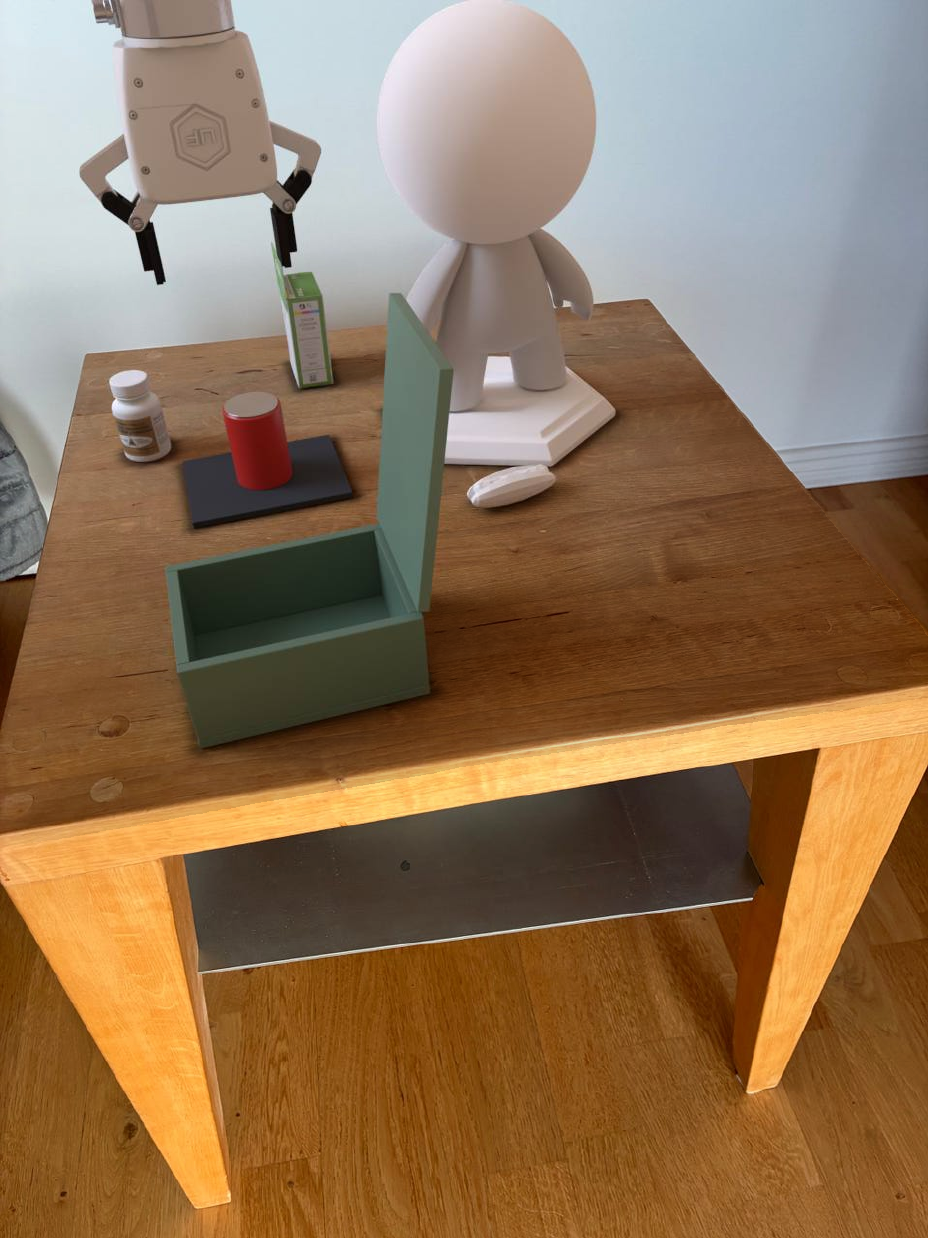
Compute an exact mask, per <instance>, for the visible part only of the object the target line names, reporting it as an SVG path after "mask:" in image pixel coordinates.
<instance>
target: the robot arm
mask: <svg viewBox="0 0 928 1238" xmlns="http://www.w3.org/2000/svg"><path fill="white" fill-rule="evenodd" d="M91 6H92V9H93V14H94V18H95V23H96V24H106V23H107V24H108V25H109V26H113V25H114V26H115V29H120V33H121V38H122V39H119V40H116V41H114V42H113V45H112V60H113V75H114V84H115V90H116V97H117V104H118V110H119V114H120V115H119V116H120V120H121V125H122V126H121V127H122V131H123V133H122V134H121V135H120V136H119V137H117V138H115V139H114V140H113V141H112V142H110V143H109V144H108V145H106V146H105V147H104V148H102V149H101V150H99V151H98V152H97V153H95V154H94V155H92V156H91V157H90V158H89V159H87V160H86V161H85V162H83V163H81V165H80V166H79V178H80V179H81V181H82V182H83V183H84V184H85V186H86V187H87V188H88V189H89V191H90V192H91V193H92V195H94V197H95V198H96V199H97V200H98V201H99V202H100V203H101V205H102V208H103V209H104V210H106V211H107V212H109V213H110V214H112V215H113V216H114V217H116V218H117V219H119V220H120V221H122V223H125V225H127V226H128V227H129V228H130V230H132V231H133V232H134V235H135V238H136V243H137V247H138V251H139V255H140V259H141V263H142V268H143V272H153V274H154V279H155V283H156V286H160V285H164V283H167V282H166V281H167V280H166V274H165V270H164V266H163V265H164V264H163V260H162V256H161V252H160V247H159V244H158V239H157V235H156V229H155V226H154V222H153V221H151V218H152V216H153V214H154V212H155V210H156V209H157V207H158V205H160V206H161V205H163V206H164V205H177V204H186V203H196V202H206V201H214V200H222V199H223V200H224V199H232V198H239V197H240V198H241V197H246V196H253V195H258V194H262V193H263V195H265V196H266V197H267V198H268V199H269V200H270V201H271V203H272V204H271V207H270V208H269V212H270V219H271V225H272V231H273V238H274V247H275V250H276V252H277V257H278V259H279V261H280V263H281V265H282V268H283V267H284V269H288V268H292V266H293V265H292V257H291V253H298V245H297V244H298V243H297V237H296V231H295V222H294V214H293V213H294V212H295V211H296V209H297V205H298V203H299V202H300V201H301V199H302V198H303V197H304V195H305V194H306V193H307V191H308V189H309V188H310V187H311V185H312V182H313V176H314V173H315V172H316V170H317V166H318V163H319V160H320V157H321V154H322V147H321V146H320V144H319V143H318V142H317V141H316V140H315V139H312V138H310V137H308V136H306V135H303V134H301V133H299V132H297V131H294V130H292V129H290V128H288V127H285V126H283V125H281V124H278V123H276V122H273V121H271V120H270V118H269V113H268V112H269V111H268V108H267V102H266V98H265V92H264V89H263V83H262V79H261V76H260V71H259V67H258V63H257V61H256V58H255V54H254V50H253V47H252V45H251V44H252V43H251V41H250V39H249V35H248V34H247V33H245V32H243V31H240V30H236V26H235V19H234V12H233V7H232V6H233V5H232V0H91ZM274 145H276V146H277V147H280V148H282V149H284V150H287V151H290V152H292V153H294V154H296V155H297V160H296V165H295V168H294V169H293V170H292V171H291V173H290V174H289V176H288V177H287V179H286V180H285V182H283V184H282V183H281V182H280V181H279V179H278V167H277V166H278V165H277V158H276V152H275V151H276V150H275V146H274ZM127 160H128V162H129V163H128V164H129V167H130V171H131V175H132V178H133V181H134V185H135V188H136V190H137V191H136V193H135V194H134V197H133V198H132V200H131V201H130V200H129V199H128V198H126V197H125V196H124V195H122V194H121V193H119V192H118V191H117V190H115V189H114V188H113V187H112V185H111V184H110V182H109V181H108V180H107V179H106V177H107V175H108V174H110V173H111V172H112V171H114V170H115V169H117V168H118V167H120V165H122V164H123V163H125V162H126V161H127Z"/></svg>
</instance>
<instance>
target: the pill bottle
mask: <svg viewBox="0 0 928 1238" xmlns="http://www.w3.org/2000/svg"><path fill="white" fill-rule="evenodd" d="M109 387H110V390H111V391H110V392H111V393H112V396H113V397H114V398H115V399H114V400H113V402H112V404H111V412H112V416H113V419H114V422H115V425H116V429H117V432H118V436H119V439H120V442H121V445H122V448H123V452H124V455H125V456H126V458H127V459H128V460H130V461H132V462H136V463H137V462H138V463H149V462H154V461H157V460H161V459H163V458H164V457H166V456H167V455H168V454H169V453H170V451H171V450H172V442H171V438H170V435H169V431H168V426H167V423H166V419H165V415H164V412H163V408H162V404H161V401H160V398H159V397H158V395H157V394H155V393H154V392H152V387H151V382H150V379H149V376H148V373H147V372H145V371H143V370H139V369H130V370H129V369H128V370H124V371H120V372H118V373H116V374H114V375H111V377H110V378H109Z"/></svg>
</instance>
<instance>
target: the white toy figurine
mask: <svg viewBox="0 0 928 1238" xmlns="http://www.w3.org/2000/svg"><path fill="white" fill-rule="evenodd" d="M596 134H597V108H596V99H595V94H594V90H593V86H592V82H591V79H590V76H589V73H588V70H587V68H586V66H585V64H584V61H583V60H582V58H581V56H580V54H579V52H578V51H577V49H576V48H575V46H574V45H573V43H572V41H571V40H570V39H569V38H568V37H567V36H566V35H565V34H564V33H563V31H562V30H561V29H560V28H559V27H557V26H556V24H554V23H553V22H552V21H550V20H549V19H548V18H547V17H545V16H544V15H542V14H541V13H539V12H537V11H535V10H533V9H531V8H529V7H527V6H525V5H523V4H519V3H517V2H513V1H509V0H464V1H461V2H458V3H454V4H452V5H449V6H447V7H445V8H443V9H440V10H439V11H437V12H435V13H434V14H432V15H430V16H429V17H427V18H426V19H425V20H423V22H421V23H420V24H418V26H417V27H415V28H414V29H413V30H412V31H411V32H410V33H409V35H407V37H406V38H405V39H404V40H403V42H402V43H401V45H400V46H399V48H398V49H396V51H395V53H394V55H393V57H392V59H391V61H390V63H389V64H388V67H387V69H386V72H385V74H384V77H383V80H382V83H381V87H380V91H379V95H378V101H377V109H376V137H377V145H378V150H379V155H380V159H381V162H382V164H383V168H384V170H385V174H386V176H387V179H388V180H389V182H390V184H391V186H392V188H393V189H394V191H395V193H396V194H397V196H398V198H399V199H400V200H401V202H402V203H403V204H404V206H405V207H406V208H407V209H408V210H409V211H410V213H412V214H413V216H415V217H416V218H417V219H418V220H419V221H421V222H422V223H423V224H424V225H426V226H427V227H429V228H430V229H432V230H433V231H435V232H437V233H438V234H440V235H443V236H444V237H447V238H449V239H452V240H450V241H449V242H447V243H445V244H444V245H443V246H441V248H440V249H439V250H438V251H437V252H436V253H435V254H434V256H433V257H432V258H431V259H430V261H429V262H428V263H427V264H426V266H424V268H423V270H422V271H421V273H420V274H419V276H418V277H417V279H416V281H415V282H414V284H413V285H412V287H411V289H410V290H409V292H408V293H407V296H406V298H405V299H406V301H407V302H408V304H409V305H410V307H411V308H412V310H413V311H414V312H415V314H416V315H417V317H418V318H419V320H420V321H421V323H422V324H423V326H424V327H425V328H426V330H427V331H428V333H429V334H430V335H432V333H433V331H434V330H435V328H436V326H437V330H436V335H435V339H434V341H435V343H436V344H437V346H438V347H439V349H440V350H441V352H442V353H443V354H444V356H445V357H446V359H447V360H448V362H449V363H450V365H451V366H452V367H453V369H454V372H453V382H452V392H451V402H450V412H449V422H448V431H447V441H446V451H445V461H444V465H469V466H470V465H471V466H472V465H474V466H475V465H477V466H509V467H510V466H511V467H512V466H513V467H520V466H529V465H534V466H537V465H541V464H542V465H544V466H547V467H548V468H549V467H553V466H554V465H556V464H557V463H558V462H559V461H561V460H562V459H563V458H564V457H566V456H567V455H568V454H569V453H571V452H572V451H573V450H574V449H576V448H577V447H578V446H580V445H581V444H582V443H584V442H585V440H587V439H589V438H590V437H591V436H592V435H593V434H595V433H596V432H597V431H598V430H599V429H601V428H602V427H603V426H604V425H605V424H607V423H608V422H609V421H610V420H612V419H613V418H614V417H615V416H616V409H615V408H614V406H613V405H612V404H611V403H610V402H609V401H608V399H606V398H605V397H604V396H603V395H602V394H601V393H600V392H598V391H597V390H596V389H594V388H593V387H592V386H591V385H590V384H589V383H587V382H586V381H585V380H584V379H582V378H581V377H580V376H579V375H577V374H576V373H575V372H574V371H573V370H572V369H570V368H569V367H568V366H567V365H566V362H565V361H566V360H565V355H564V354H565V353H564V348H563V343H562V337H561V332H560V328H559V323H558V319H557V318H558V317H557V315H556V314H557V313H556V310H555V308H556V309H558V310H559V309H562V308H563V307H564V301H566V302H569V303H570V304H569V305H570V311H571V312H572V313H573V314H575V315H576V316H577V317H578V318H580V319H581V320H582V321H584V322H586V323H587V322H588V323H589V322H590V321H591V319H592V316H593V314H594V293H593V290H592V286H591V284H590V281H589V278H588V276H587V275H586V273H585V271H584V269H583V268H582V267H581V265H580V264H579V262H578V261H577V259H576V258H575V257H574V256H573V255H572V253H571V252H570V251H569V250H568V249H567V248H566V246H565V245H563V244H562V242H561V241H559V240H558V239H557V238H555V236H553V235H552V234H551V233H549V232H548V231H547V230H545V229H543V227H545V226H546V225H547V224H549V223H550V222H551V221H552V220H554V219H555V218H556V217H557V216H558V215H559V214H560V213H561V212H562V211H563V210H564V209H565V208H566V207H567V205H568V204H569V203H570V202H571V201H572V199H573V198H574V196H575V194H576V193H577V191H578V190H579V188H580V186H581V185H582V183H583V181H584V178H585V176H586V174H587V172H588V169H589V167H590V163H591V160H592V157H593V153H594V148H595V143H596V136H597V135H596ZM437 324H438V325H437ZM502 353H508V354H509V355H508V356H495V355H494V356H491V355H490V356H489V354H502Z"/></svg>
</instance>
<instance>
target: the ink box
mask: <svg viewBox="0 0 928 1238" xmlns="http://www.w3.org/2000/svg"><path fill="white" fill-rule="evenodd" d="M270 246H271V252H272V257H273V263H274V268H275V275H276V280H277V287H278V291H279V296H280V302H281V310H282V315H283V321H284V322H283V323H284V328H285V334H286V339H287V345H288V346H287V347H288V352H289V362H290V366H291V369H292V373H293V375H294V378H295V380H296V385H297V387H298V388H299V389H307V388H311V387H323V386H329V385H333V384H334V383H335V381H334V378H333V377H334V376H333V369H332V359H331V352H330V345H329V344H330V343H329V336H328V335H329V334H328V327H327V320H326V319H327V318H326V312H325V311H326V310H325V303H324V296H323V293H322V291H321V289H320V287H319V285H318V282H317V280H316V277H315V275H314V273H313V271H304V272H303V271H302V272H301V271H299V272H294V273H288V274H284V269H283V267H282V265H281V263H280V261H279V259H278V257H277V252H276V247H275V245H274V243H273V242H272V241H271V242H270Z"/></svg>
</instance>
